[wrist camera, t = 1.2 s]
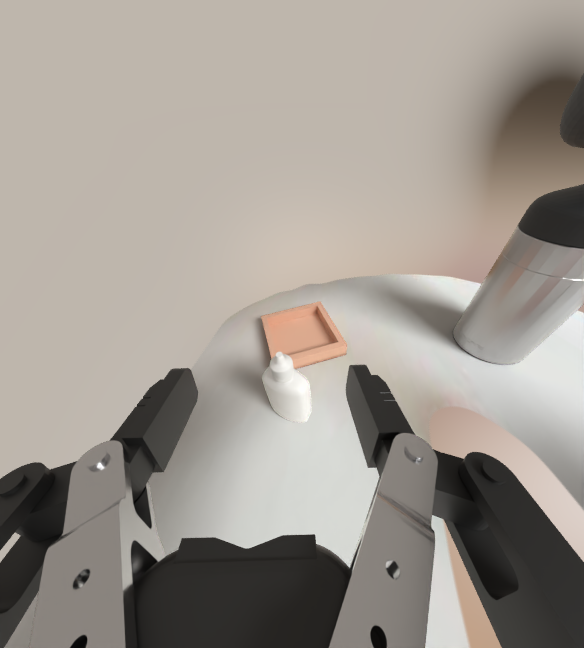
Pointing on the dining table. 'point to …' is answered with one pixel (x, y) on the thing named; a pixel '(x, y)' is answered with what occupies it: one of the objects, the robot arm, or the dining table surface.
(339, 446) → the dining table surface
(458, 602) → the dining table surface
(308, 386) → the eye dropper bottle
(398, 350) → the dining table surface
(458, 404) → the dining table surface
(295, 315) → the terracotta caddy
